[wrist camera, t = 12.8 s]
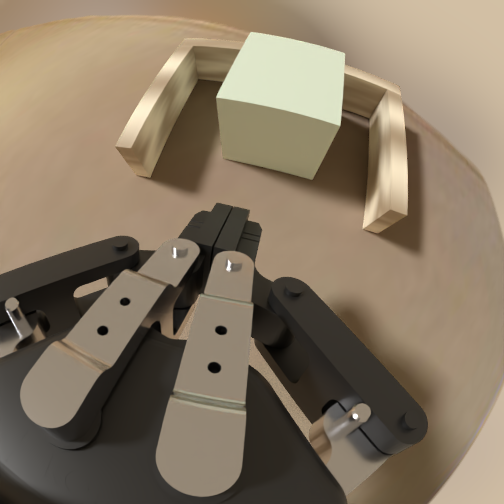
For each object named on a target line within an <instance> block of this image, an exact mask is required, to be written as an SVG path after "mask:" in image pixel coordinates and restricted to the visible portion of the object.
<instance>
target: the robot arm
mask: <svg viewBox="0 0 504 504" xmlns="http://www.w3.org/2000/svg"><path fill="white" fill-rule="evenodd" d="M249 212H250V210H247V209H243V208H239V207H233V206H230V205H225V204H221V203H216V205H215V206H214V208H213V209H212V211H211V212H208V211H204V210H203V211H201V212H199V213H197V214H195V215H194V217H193V218H192V219H191V221H190V222H189V223H188V226H186V228H185V229H184V230H183V232H182V233H181V234H180V236H179V237H178V238H177V239H171V240H168V241H166V242H164V243H163V244H162V245H161V246H160V247H159V248H158V250H156V251H150V250H139V243H138V241H137V240H135V239H134V238H132V237H129V236H116V237H112V238H109V239H106V240H102V241H99V242H96V243H92V244H89V245H86V246H83V247H79V248H76V249H73V250H70V251H67V252H64V253H61V254H58V255H55V256H52V257H49V258H46V259H43V260H40V261H37V262H34V263H31V264H28V265H25V266H23V267H20V268H17V269H14V270H12V271H9V272H6V273H4V274H1V275H0V504H347V499H346V496H347V495H348V494H349V493H350V492H352V491H353V490H354V489H355V488H356V487H358V486H359V485H360V484H361V483H362V482H364V481H365V480H366V479H367V478H368V477H369V476H370V475H371V474H372V473H374V472H375V471H376V470H377V469H378V468H379V467H380V466H381V465H382V464H383V463H384V462H385V461H386V460H387V459H388V458H390V457H392V456H394V455H396V454H398V453H400V452H401V451H403V450H405V449H407V448H409V447H411V446H413V445H414V444H416V443H418V442H420V441H421V440H422V439H423V438H424V436H425V434H426V432H427V428H428V421H427V417H426V414H425V412H424V411H423V409H422V408H421V407H420V406H419V405H418V403H417V402H416V401H415V400H414V399H413V398H412V397H411V396H410V395H409V393H408V392H407V391H406V390H405V389H404V388H403V387H402V386H401V385H400V384H399V382H398V381H397V380H396V379H395V378H394V377H393V376H392V375H391V374H390V373H389V371H388V370H387V369H386V368H385V367H384V366H383V365H382V364H381V363H380V362H379V361H378V359H377V358H376V357H375V356H374V355H373V354H372V353H371V352H370V351H369V350H368V349H367V348H366V346H365V345H364V344H363V343H362V342H361V341H360V340H359V339H358V338H357V337H356V336H355V335H354V334H353V333H352V331H351V330H350V329H349V328H348V327H347V326H346V325H345V324H344V323H343V322H342V321H341V320H340V319H339V318H338V317H337V316H336V314H335V313H334V312H333V311H332V310H331V309H330V308H329V307H328V306H327V305H326V304H325V303H324V302H323V301H322V300H321V299H320V298H319V297H318V295H317V294H316V293H315V292H314V291H313V290H312V289H311V288H310V287H309V286H308V285H307V284H306V283H304V282H303V281H301V280H298V279H296V278H292V277H281V278H278V279H276V280H275V281H274V282H272V281H270V280H268V279H266V278H264V277H263V276H262V275H261V274H259V272H258V271H257V270H256V268H255V259H256V255H257V250H258V246H259V241H260V237H261V232H262V229H261V227H260V225H259V223H256V222H252V221H248V217H249ZM105 277H106V278H107V283H108V287H107V288H105V289H102V290H99V291H96V292H94V293H91V294H88V295H85V296H83V297H80V298H75V297H74V296H73V294H74V291H75V290H76V289H77V288H78V287H80V286H82V285H85V284H88V283H91V282H93V281H96V280H99V279H102V278H105ZM199 294H200V298H199V301H198V304H197V308H196V311H195V314H194V318H193V321H192V325H191V328H190V332H189V335H188V339H187V340H179V337H180V335H181V333H182V331H183V329H184V327H185V325H186V323H187V322H188V320H189V318H190V316H191V314H192V312H193V310H194V308H195V301H196V300H197V297H198V295H199ZM251 337H252V338H254V339H255V340H254V342H255V346H256V347H257V349H258V350H259V352H260V353H261V355H262V356H263V358H264V359H265V361H266V362H267V363H268V365H269V366H270V368H271V369H272V370H273V372H274V373H275V375H276V376H277V378H278V379H279V380H280V382H281V383H282V384H283V386H284V387H285V389H286V390H287V391H288V393H289V394H290V395H291V397H292V398H293V400H294V401H295V402H296V404H297V405H298V406H299V408H300V409H301V410H302V412H303V413H304V414H305V416H306V417H307V418H308V420H309V421H310V422H311V423H312V426H311V428H310V431H309V440H310V443H311V444H310V443H309V441H308V440H307V439H306V437H305V436H304V434H303V433H302V431H301V430H300V428H299V427H298V426H297V424H296V423H295V421H294V420H293V418H292V417H291V415H290V414H289V412H288V411H287V409H286V408H285V406H284V405H283V403H282V402H281V400H280V399H279V397H278V396H277V394H276V393H275V391H274V389H273V388H272V386H271V385H270V384H269V382H268V381H267V380H266V379H265V378H264V377H263V376H262V375H261V374H260V373H259V372H258V371H257V370H255V369H254V368H253V367H251V366H250V365H249V353H250V341H251ZM311 445H312V446H311Z"/></svg>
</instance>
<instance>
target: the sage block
mask: <svg viewBox="0 0 504 504" xmlns="http://www.w3.org/2000/svg"><path fill="white" fill-rule="evenodd" d="M344 67H345V53H342V52H339V51H336V50H333V49H329V48H326V47H322V46H319V45H315V44H311V43H307V42H303V41H298V40H293V39H289V38H284V37H279V36H273V35H268V34H261V33H254V32H251V33H250V34H249V36H248V38H247V40H246V41H245V43H244V45H243V47H242V48H241V50H240V52H239V54H238V56H237V57H236V59H235V61H234V63H233V65H232V67H231V69H230V70H229V72H228V74H227V76H226V78H225V80H224V82H223V84H222V86H221V88H220V90H219V92H218V94H217V96H216V102H217V111H218V120H219V129H220V137H221V146H222V154H223V159H228V160H233V161H238V162H242V163H247V164H251V165H256V166H260V167H264V168H268V169H273V170H277V171H281V172H285V173H288V174H292V175H296V176H300V177H303V178H307V179H311V180H313V178H314V176H315V174H316V172H317V170H318V168H319V166H320V164H321V162H322V161H323V159H324V157H325V155H326V153H327V151H328V149H329V147H330V145H331V143H332V141H333V139H334V137H335V135H336V133H337V132H338V130H339V128H340V124H341V113H342V100H343V86H344Z"/></svg>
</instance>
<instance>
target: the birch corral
mask: <svg viewBox="0 0 504 504" xmlns="http://www.w3.org/2000/svg"><path fill="white" fill-rule="evenodd" d="M244 43H245V42H239V41H229V40H218V39H200V38H185V39H184V40H183V41H182V43H181V44H180V45H179V46H178V48H177V49H176V50H175V52H174V53H173V54H172V56H171V57H170V58H169V60H168V61H167V62H166V64H165V65H164V66H163V68H162V69H161V71H160V72H159V73H158V75H157V76H156V78H155V79H154V81H153V82H152V84H151V85H150V87H149V88H148V90H147V91H146V93H145V95H144V96H143V98H142V99H141V101H140V103H139V104H138V106H137V108H136V109H135V111H134V113H133V114H132V116H131V118H130V120H129V121H128V123H127V125H126V127H125V129H124V130H123V132H122V134H121V136H120V138H119V140H118V142H117V144H116V146H115V147H116V148H117V150H118V151H119V152H120V154H121V155H122V156H123V158H124V159H125V161H126V162H127V163H128V165H129V166H130V167H131V169H132V170H133V171H134V173H135V174H136V175H139V176H144V177H151V175H152V172H153V170H154V168H155V165H156V163H157V161H158V158H159V156H160V154H161V152H162V149H163V147H164V145H165V143H166V141H167V139H168V136H169V134H170V132H171V130H172V128H173V126H174V124H175V122H176V120H177V118H178V116H179V114H180V112H181V110H182V108H183V106H184V105H185V103H186V101H187V99H188V97H189V95H190V93H191V92H192V90H193V88H194V86H195V85H196V83H197V81H198V79H202V80H212V81H220V82H224V80H225V78H226V76H227V74H228V72H229V70H230V69H231V67H232V65H233V63H234V61H235V59H236V57H237V56H238V54H239V52H240V50H241V48H242V47H243V45H244ZM342 109H344V110H347V111H350V112H353V113H356V114H359V115H362V116H364V117H367V118H369V160H368V178H367V191H366V203H365V213H364V222H363V229H365V230H368V231H371V232H374V233H379V232H381V231H383V230H384V229H386V228H388V227H389V226H391V225H393V224H394V223H396V222H397V221H399V220H401V219H402V218H404V217H406V216H407V208H408V170H407V148H406V134H405V124H404V115H403V107H402V99H401V93H400V87H399V86H398V85H396V84H394V83H391V82H389V81H387V80H384V79H382V78H379V77H377V76H374V75H372V74H369V73H367V72H364V71H361V70H359V69H356V68H353V67H350V66H347V65H345V67H344V86H343V100H342Z"/></svg>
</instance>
